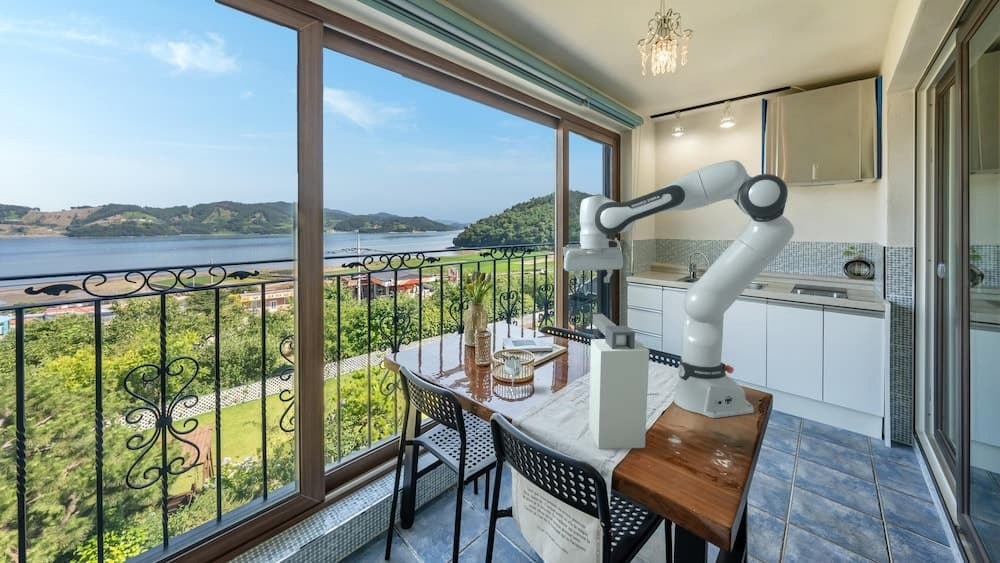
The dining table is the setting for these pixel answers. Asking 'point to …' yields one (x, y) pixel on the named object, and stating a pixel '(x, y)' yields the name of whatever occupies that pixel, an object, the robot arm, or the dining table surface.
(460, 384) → the dining table surface
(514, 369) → the wineglass
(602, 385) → the tall white pillar
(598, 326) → the angular gray block
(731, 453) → the dining table surface
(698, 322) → the robot arm
